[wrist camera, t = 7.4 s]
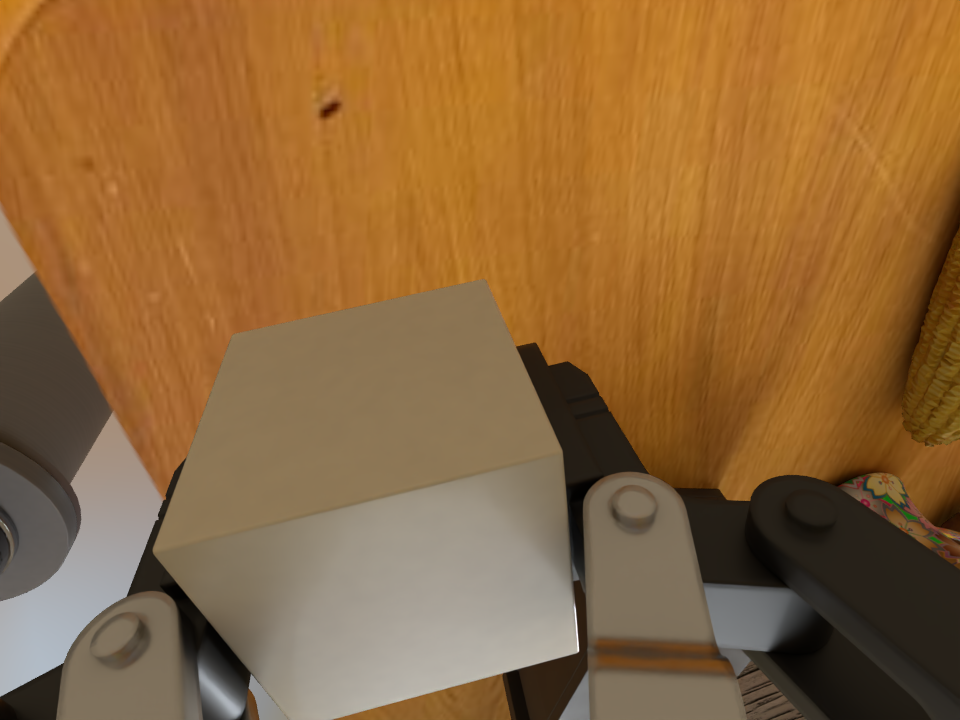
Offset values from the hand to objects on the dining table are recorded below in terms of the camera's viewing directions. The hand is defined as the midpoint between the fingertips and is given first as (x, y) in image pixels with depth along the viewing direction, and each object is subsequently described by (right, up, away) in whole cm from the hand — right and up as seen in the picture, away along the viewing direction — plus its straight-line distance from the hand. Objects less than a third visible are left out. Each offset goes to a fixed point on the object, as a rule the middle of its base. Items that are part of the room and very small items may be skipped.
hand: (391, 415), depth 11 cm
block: (0, 0, 0) cm, 0 cm away
